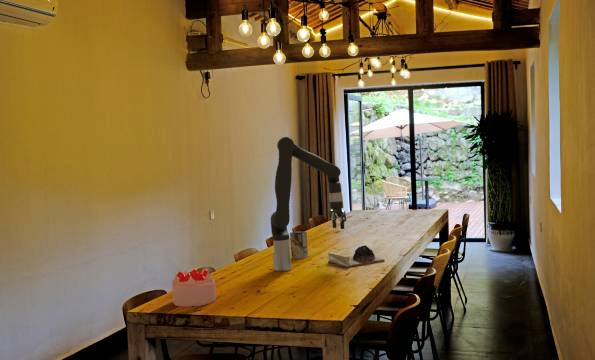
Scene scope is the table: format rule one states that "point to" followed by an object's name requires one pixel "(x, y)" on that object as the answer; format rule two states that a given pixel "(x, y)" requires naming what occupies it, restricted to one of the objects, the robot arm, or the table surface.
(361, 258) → the black rock
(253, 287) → the table surface
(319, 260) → the table surface
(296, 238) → the coffee box
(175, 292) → the cake
